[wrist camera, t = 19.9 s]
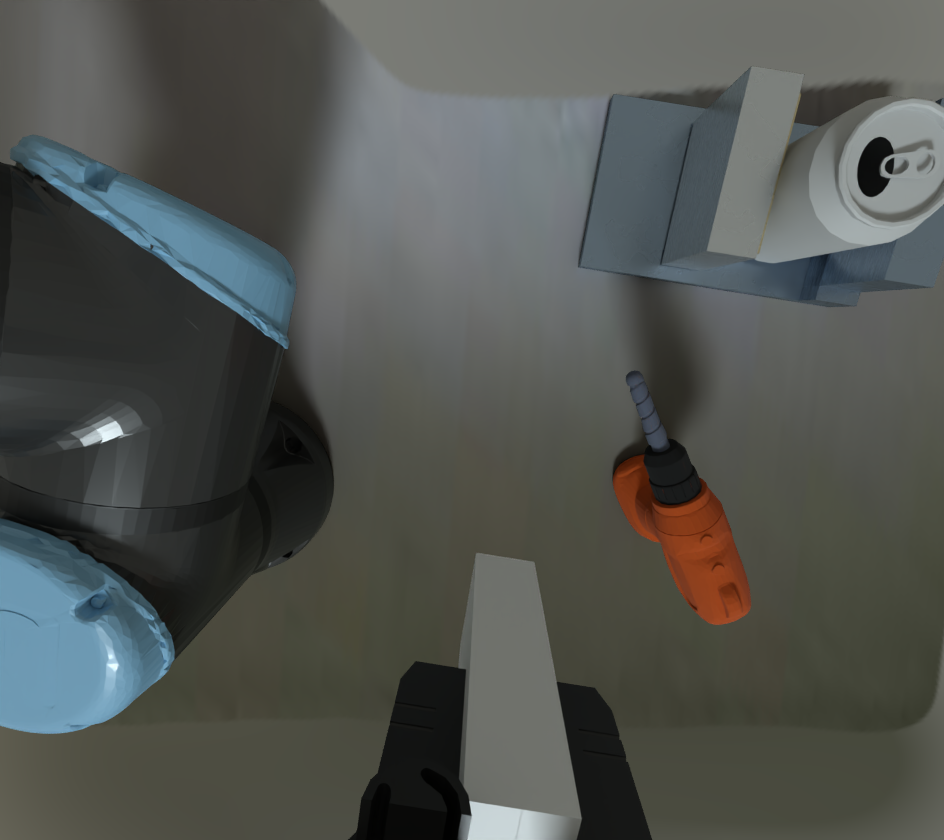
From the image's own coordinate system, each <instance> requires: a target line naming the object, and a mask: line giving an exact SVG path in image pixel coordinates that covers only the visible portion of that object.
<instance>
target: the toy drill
mask: <svg viewBox="0 0 944 840" xmlns="http://www.w3.org/2000/svg"><path fill="white" fill-rule="evenodd" d="M626 382H627V385H629V386H630V392H631V395H632V399H633V401H634V402H635V403H636V404H637V405H636V408H637V411H638V413H639V416H640V417H642V420H641V421H642V425H643V430H644V431H645V432H646V434H645V436H646V439H647V441H648V444H649V446H648V447H647V448H646V450H645V454H644V455H638V456H634V457H631V458H629V459H627V460H625V461H624V462H623V463H621V464H620V465H619V466H618V468H617V469H616V470H615V473H614V475H613V486H614V490H615V493H616V497H617V499H618V501H619V503H620V506H621V508H622V510H623V512H624V514H625V516H626V517H627V519H628V521H629V523H630V524H631V525H632V527H633V528H634V529H635V530H636V531H637V532H638V533H639V534H640V535H642V536H644V537H646V538H648V539H650V540H652V541H655V542H660V543H661V545H662V549H663V552H664V556H665V559H666V561H667V564H668V567H669V569H670V572H671V574H672V576H673V579H674V581H675V583H676V585H677V587H678V589H679V590H680V592H681V594H682V595H683V597H684V598H685V600H686V601H687V602H688V604H689V605H690V606H691V608H692V609H693V610H694V611H695V612H696V613H697V614H698V615H699V616H700V617H702V618H703V619H704V620H705V621H707V622H709V623H711V624H726V623H730V622H733V621H736V620H738V619H739V618H741V617H743V616H745V615H746V614H747V613H748V611H749V610H750V607H751V598H750V589H749V585H748V580H747V576H746V573H745V571H744V568H743V565H742V562H741V559H740V556H739V554H738V551H737V548H736V546H735V543H734V540H733V537H732V532H731V528H730V526H729V523H728V520H727V518H726V515H725V512H724V510H723V507H722V504H721V502H720V501H719V500H718V499H717V497H716V496H715V495H714V494H713V493H712V492H711V490H710V489H709V488H708V486H707V484H706V482H705V481H704V480H703V479H701V478H699V476H698V474H697V471H696V469H695V467H694V466H693V465H692V464H691V462H690V459H689V457H688V454H687V451H686V449H685V447H683V446H682V445H681V444H679V443H678V442H677V441H676V440H673V439H667V436H666V435H667V433H666V430H665V428H664V427H663V425H662V423H661V421H660V419H659V416H658V414H657V411H656V409H655V407H654V404H653V401H652V398H651V396H650V393H649V391H648V388H647V386H646V383H645V381H644V378H643V375H642V374H641V373H640V372H639V371H631V372H629V373H628V374H627V376H626Z"/></svg>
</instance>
